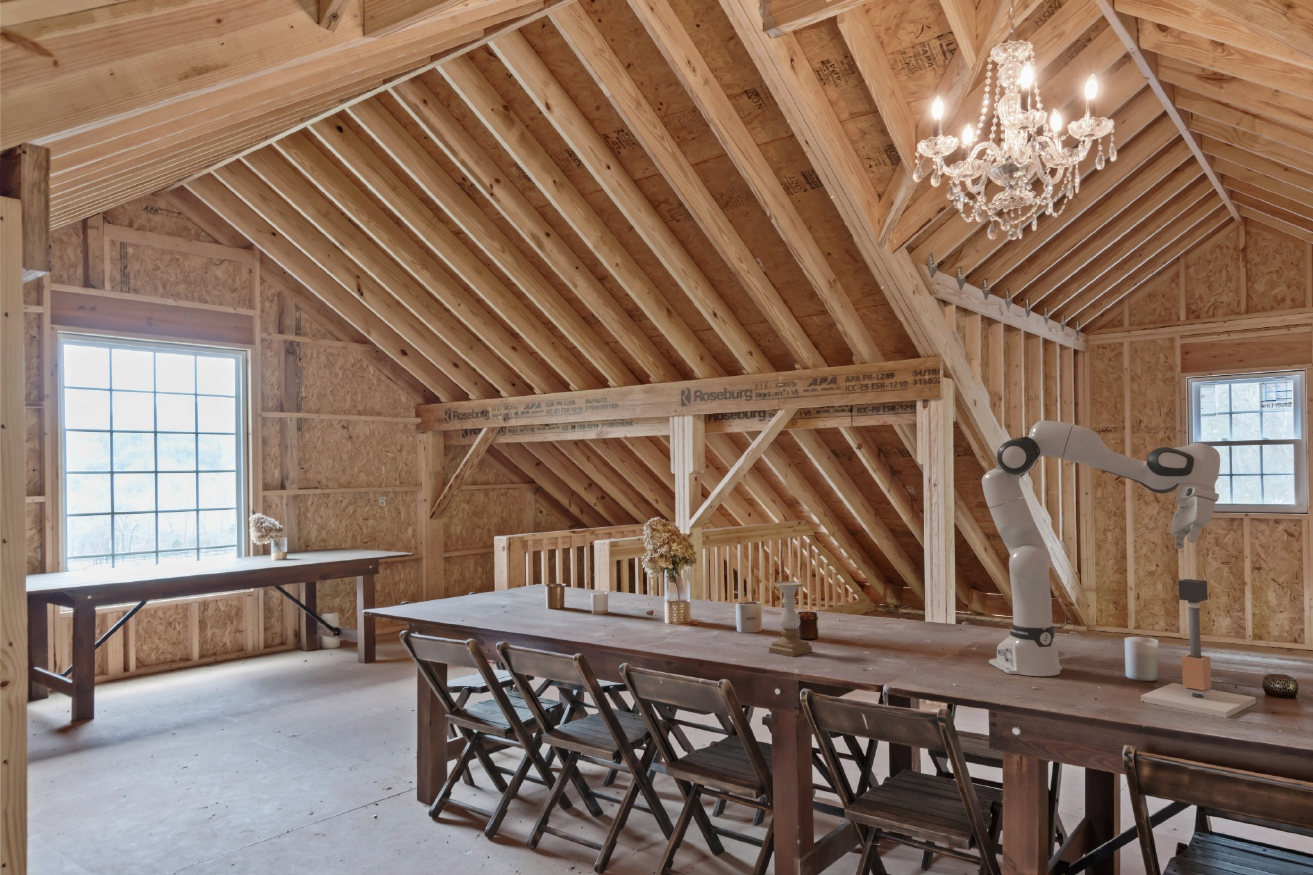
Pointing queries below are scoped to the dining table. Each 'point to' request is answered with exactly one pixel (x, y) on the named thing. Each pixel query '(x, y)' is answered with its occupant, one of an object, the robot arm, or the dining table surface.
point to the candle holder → (789, 624)
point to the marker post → (1194, 698)
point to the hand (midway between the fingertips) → (1184, 545)
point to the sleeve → (1196, 672)
